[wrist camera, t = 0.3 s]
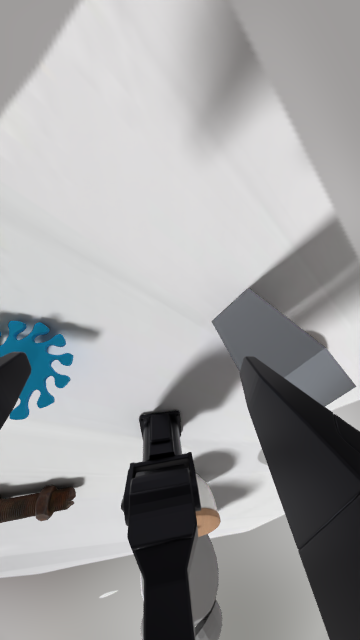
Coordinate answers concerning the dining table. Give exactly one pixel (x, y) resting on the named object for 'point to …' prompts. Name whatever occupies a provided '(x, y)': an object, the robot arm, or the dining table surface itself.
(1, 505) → the bolt
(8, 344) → the blue thin-armed part
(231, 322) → the block
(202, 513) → the lidded jar
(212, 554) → the alarm clock
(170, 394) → the dining table surface
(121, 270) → the dining table surface
